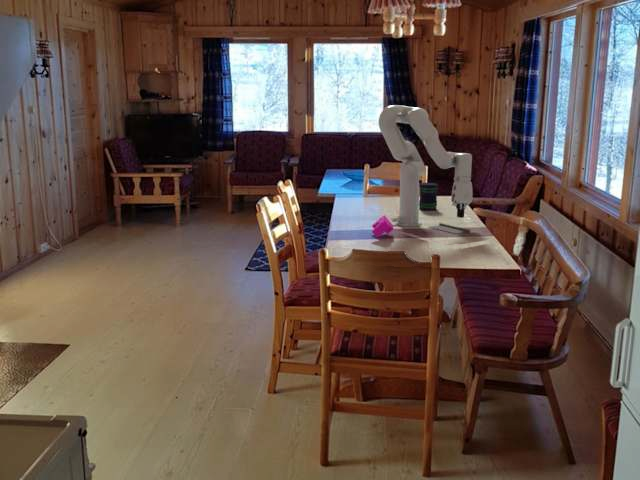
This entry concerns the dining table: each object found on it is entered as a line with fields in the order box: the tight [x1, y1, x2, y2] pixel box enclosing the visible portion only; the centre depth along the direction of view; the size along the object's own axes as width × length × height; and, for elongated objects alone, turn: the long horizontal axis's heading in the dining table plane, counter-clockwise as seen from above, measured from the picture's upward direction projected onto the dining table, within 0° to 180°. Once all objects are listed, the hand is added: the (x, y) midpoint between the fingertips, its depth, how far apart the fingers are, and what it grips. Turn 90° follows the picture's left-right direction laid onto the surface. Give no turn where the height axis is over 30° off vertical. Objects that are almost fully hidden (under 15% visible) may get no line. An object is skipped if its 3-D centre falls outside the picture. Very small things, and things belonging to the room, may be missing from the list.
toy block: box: [371, 214, 394, 238], centre depth 295 cm, size 15×6×8 cm
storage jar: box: [419, 182, 439, 212], centre depth 359 cm, size 10×10×15 cm
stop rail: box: [438, 222, 471, 234], centre depth 309 cm, size 1×20×1 cm, turn 32°
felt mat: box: [428, 224, 467, 235], centre depth 307 cm, size 7×18×1 cm, turn 32°
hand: (460, 217), depth 310 cm, fingers closed
